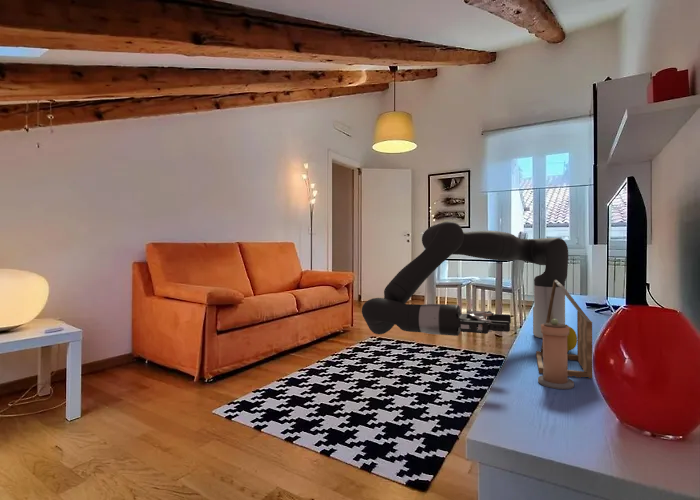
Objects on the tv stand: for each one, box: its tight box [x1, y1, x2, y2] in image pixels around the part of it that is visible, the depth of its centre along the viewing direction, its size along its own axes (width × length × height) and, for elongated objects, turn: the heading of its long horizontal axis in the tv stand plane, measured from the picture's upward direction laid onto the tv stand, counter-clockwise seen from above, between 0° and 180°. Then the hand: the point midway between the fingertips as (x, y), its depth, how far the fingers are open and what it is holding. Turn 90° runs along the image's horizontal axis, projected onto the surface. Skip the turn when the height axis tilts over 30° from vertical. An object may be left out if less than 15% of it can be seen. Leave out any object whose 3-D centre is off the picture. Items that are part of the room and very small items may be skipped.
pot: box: [541, 319, 570, 384], centre depth 85 cm, size 6×6×14 cm
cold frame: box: [535, 280, 593, 379], centre depth 97 cm, size 16×11×21 cm
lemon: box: [565, 324, 577, 353], centre depth 110 cm, size 6×6×8 cm
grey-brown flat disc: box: [537, 374, 575, 390], centre depth 85 cm, size 7×7×1 cm
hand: (510, 322), depth 89 cm, fingers open, 8 cm apart
